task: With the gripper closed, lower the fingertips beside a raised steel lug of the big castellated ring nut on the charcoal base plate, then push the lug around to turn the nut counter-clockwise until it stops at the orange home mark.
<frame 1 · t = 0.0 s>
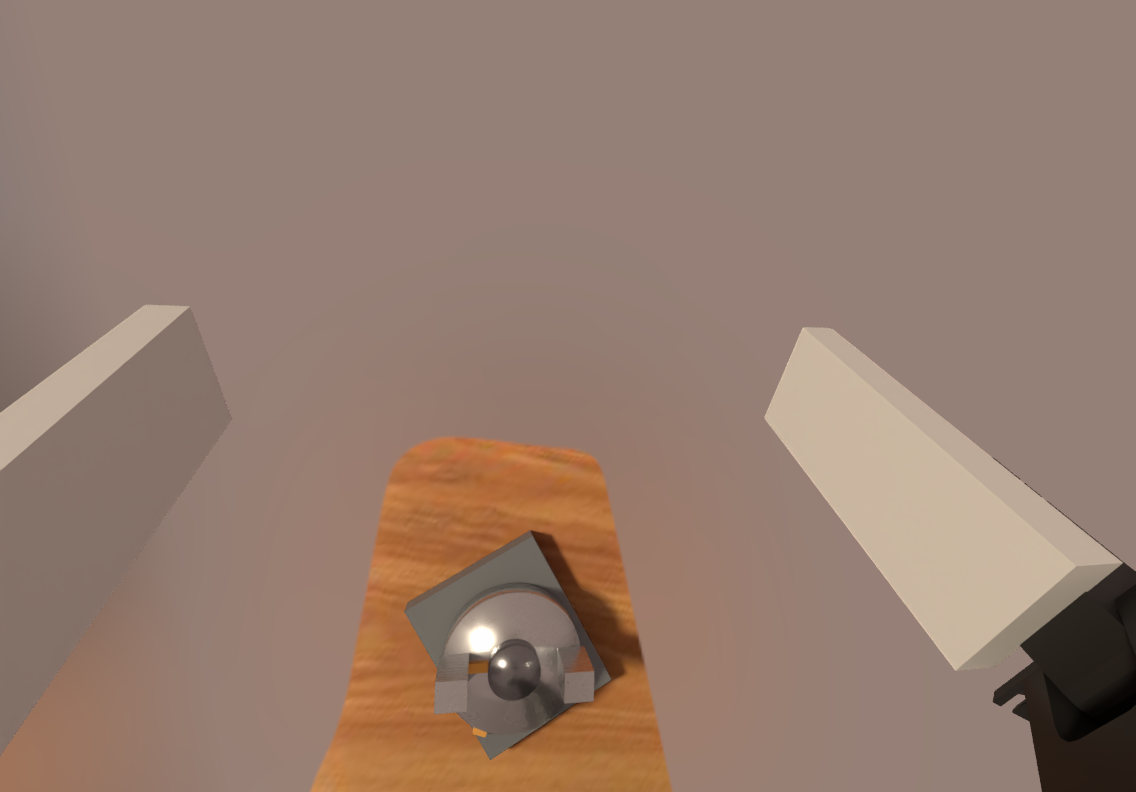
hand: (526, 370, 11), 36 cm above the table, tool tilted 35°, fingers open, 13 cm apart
nut base plate: (510, 636, 46), on the table
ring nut: (514, 668, 41), point 6 cm above the table, hinge at 0.0°
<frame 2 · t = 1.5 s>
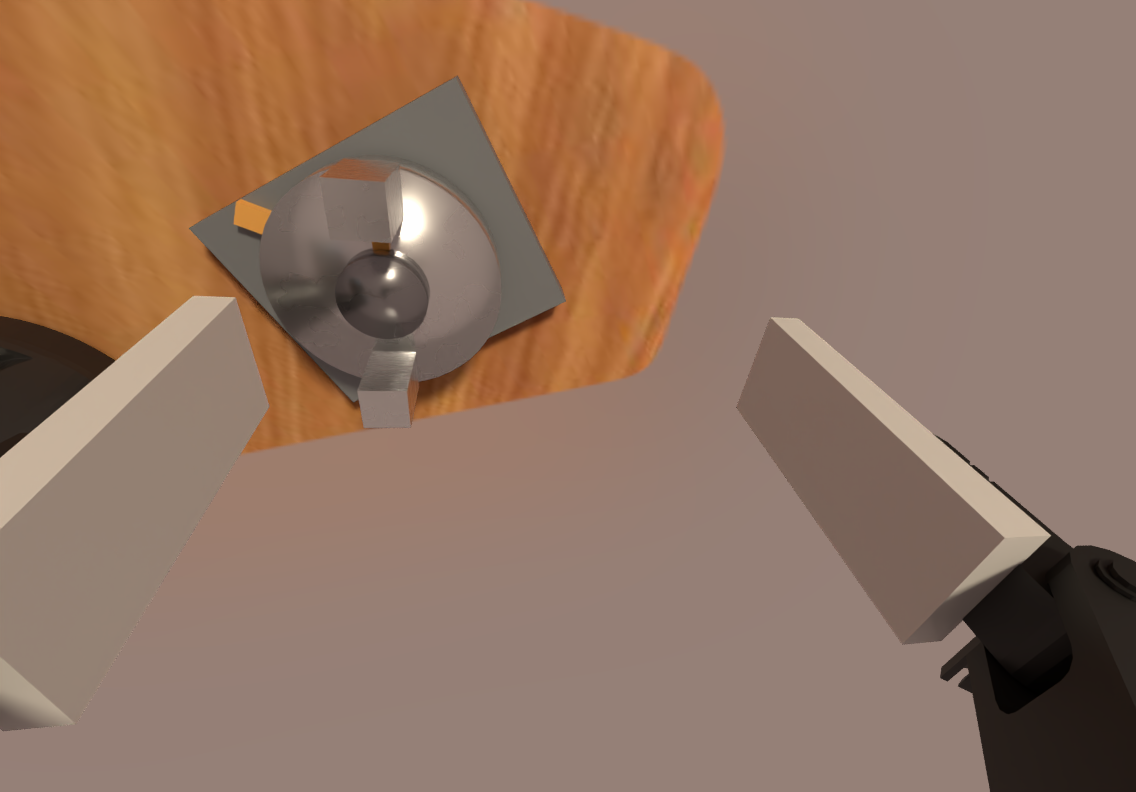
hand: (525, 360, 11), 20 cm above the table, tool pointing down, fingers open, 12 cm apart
nut base plate: (400, 256, 29), on the table
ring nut: (384, 293, 25), point 6 cm above the table, hinge at 0.0°
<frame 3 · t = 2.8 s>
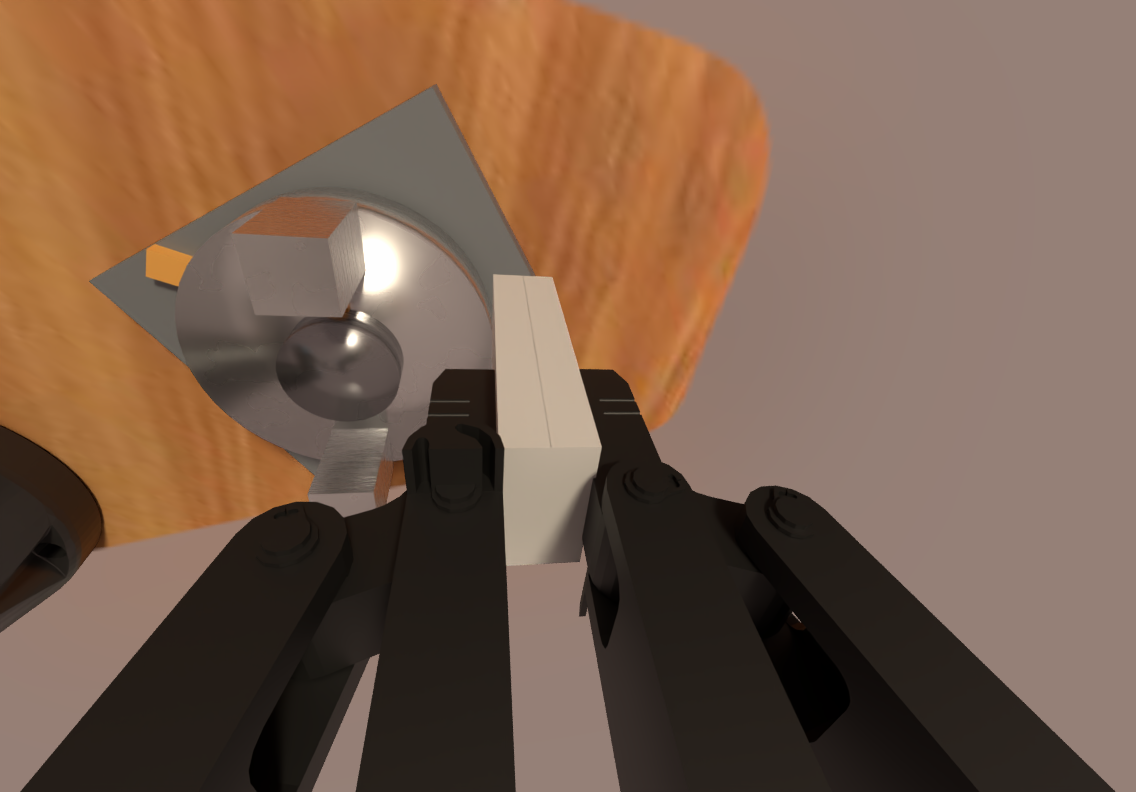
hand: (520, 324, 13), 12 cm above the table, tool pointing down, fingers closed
nut base plate: (369, 305, 24), on the table
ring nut: (344, 365, 19), point 6 cm above the table, hinge at 0.0°
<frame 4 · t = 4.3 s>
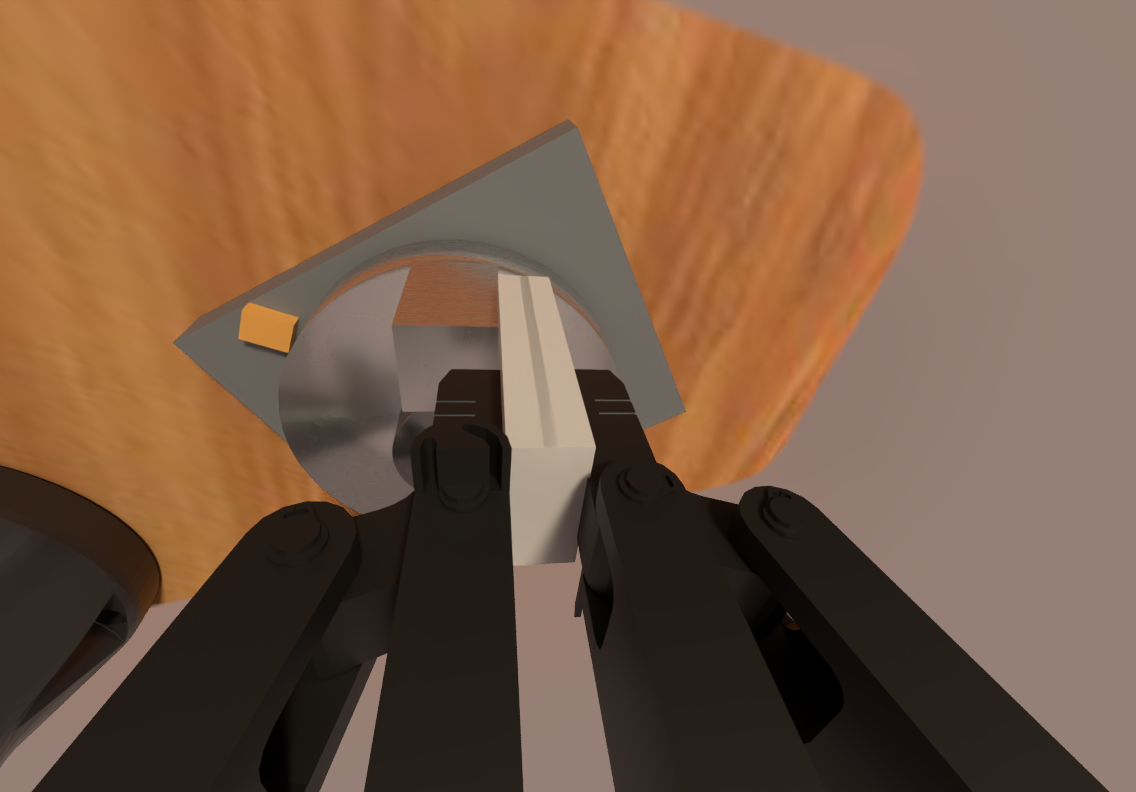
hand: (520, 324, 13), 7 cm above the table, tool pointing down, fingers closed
nut base plate: (465, 356, 22), on the table
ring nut: (461, 439, 17), point 6 cm above the table, hinge at 0.2°, touching gripper
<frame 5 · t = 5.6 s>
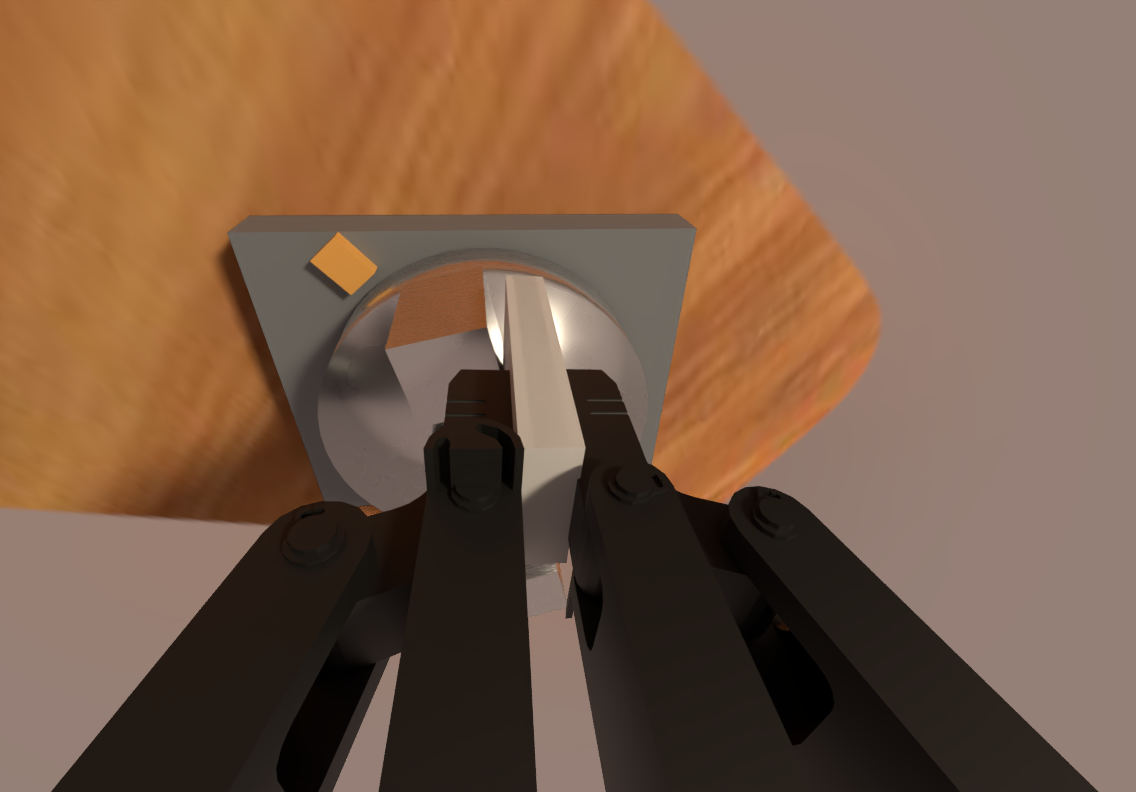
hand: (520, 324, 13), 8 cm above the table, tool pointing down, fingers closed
nut base plate: (488, 361, 22), on the table
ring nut: (494, 440, 18), point 6 cm above the table, hinge at 41.3°, touching gripper
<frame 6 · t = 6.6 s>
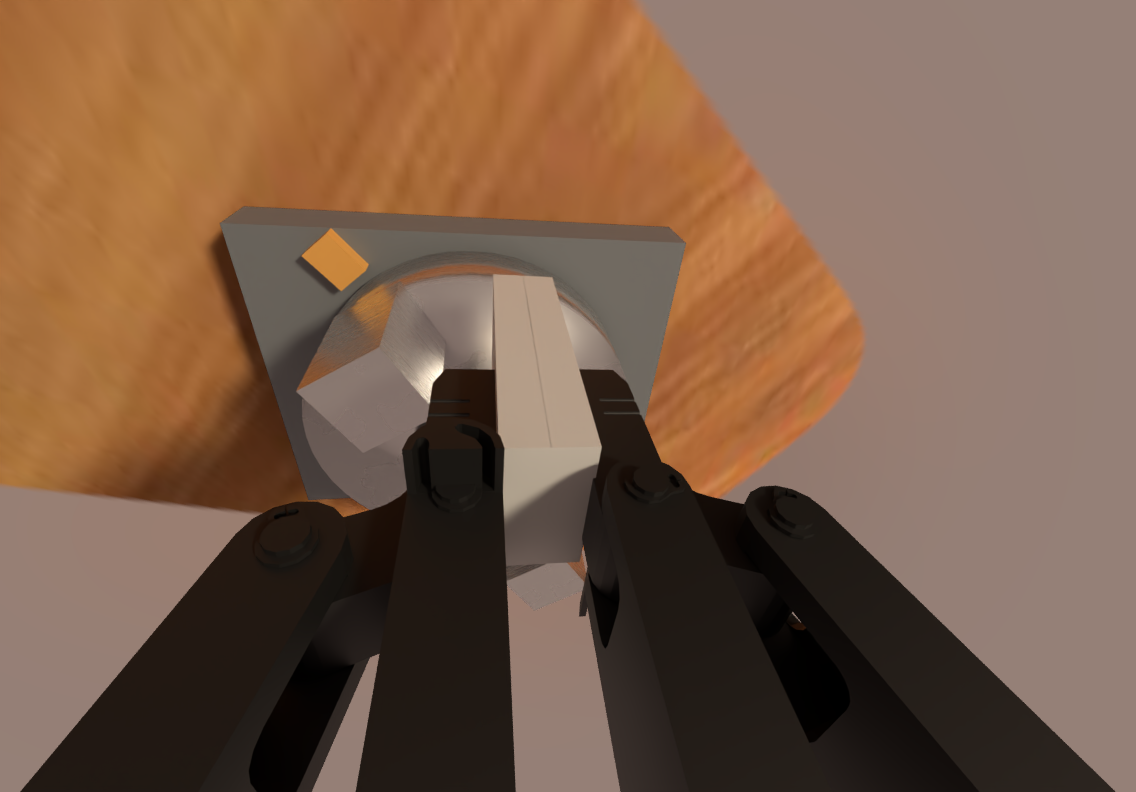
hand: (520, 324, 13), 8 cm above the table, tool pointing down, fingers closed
nut base plate: (476, 361, 22), on the table
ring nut: (476, 441, 18), point 6 cm above the table, hinge at 60.7°
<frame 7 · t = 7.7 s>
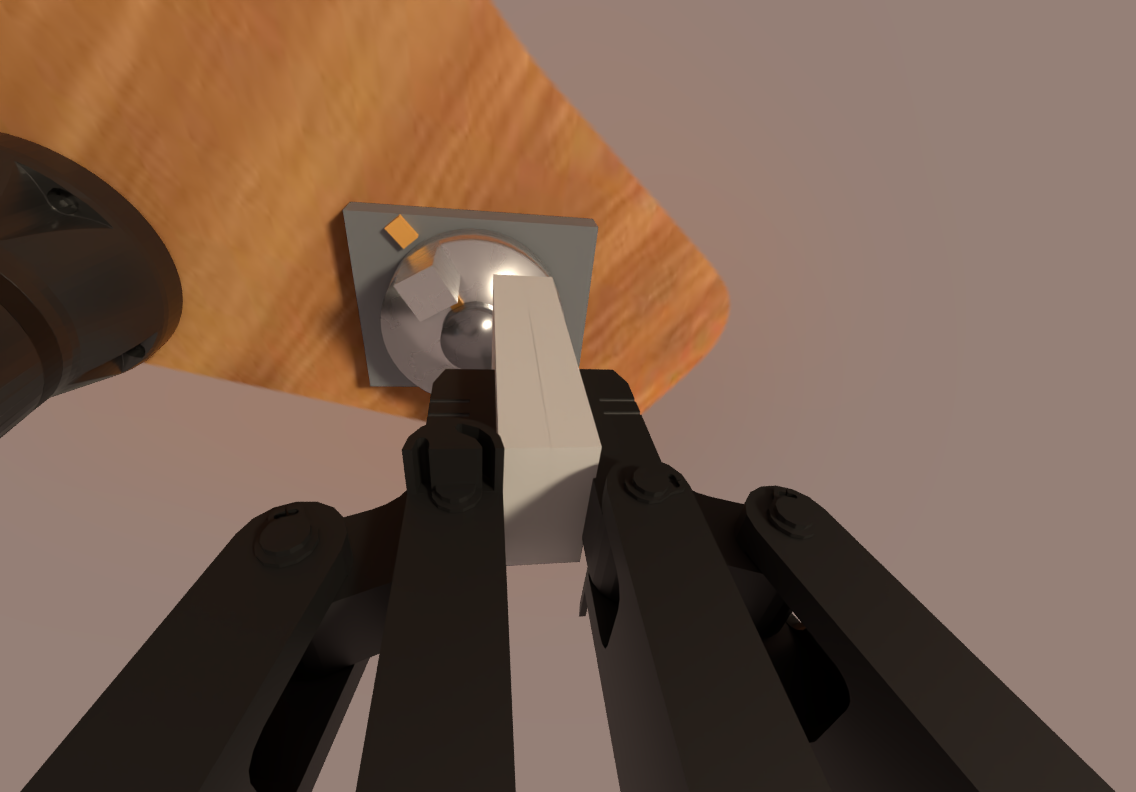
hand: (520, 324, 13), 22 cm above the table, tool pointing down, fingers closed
nut base plate: (477, 300, 36), on the table
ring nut: (475, 336, 31), point 6 cm above the table, hinge at 60.7°
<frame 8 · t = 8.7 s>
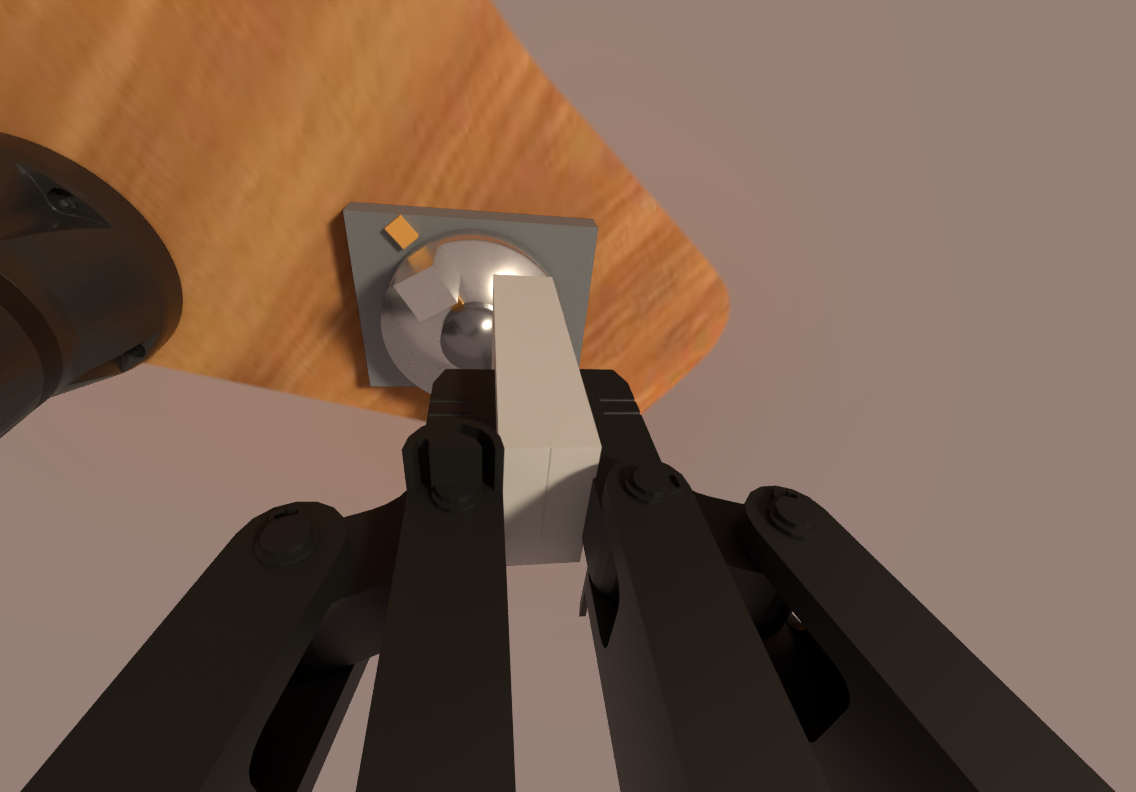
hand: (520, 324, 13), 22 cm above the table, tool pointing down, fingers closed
nut base plate: (477, 300, 36), on the table
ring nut: (475, 336, 31), point 6 cm above the table, hinge at 60.7°
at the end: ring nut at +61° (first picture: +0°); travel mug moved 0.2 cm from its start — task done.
